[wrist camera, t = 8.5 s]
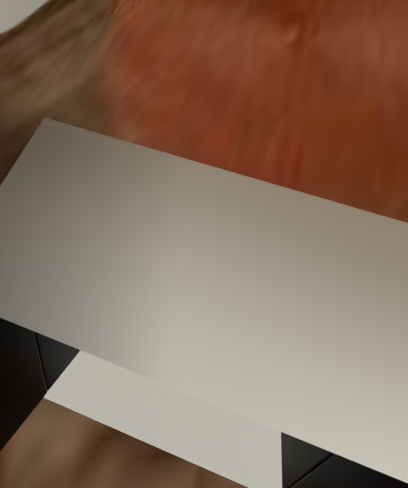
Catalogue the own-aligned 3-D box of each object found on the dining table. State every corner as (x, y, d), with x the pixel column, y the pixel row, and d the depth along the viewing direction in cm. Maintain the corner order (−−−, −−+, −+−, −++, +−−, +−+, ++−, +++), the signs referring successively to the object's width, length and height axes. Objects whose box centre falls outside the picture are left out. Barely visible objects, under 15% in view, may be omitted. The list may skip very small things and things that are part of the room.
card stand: (250, 392, 14) (687, 1247, 1) (126, 343, 15) (-371, 543, 2) (283, 265, 16) (574, 87, 3) (173, 228, 17) (63, -23, 4)
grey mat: (306, 507, 14) (309, 514, 13) (36, 389, 16) (30, 391, 15) (358, 228, 18) (362, 226, 17) (143, 163, 20) (141, 160, 19)
